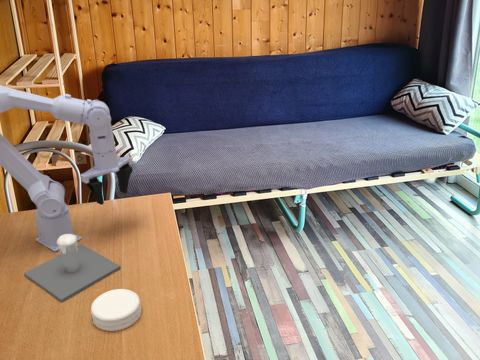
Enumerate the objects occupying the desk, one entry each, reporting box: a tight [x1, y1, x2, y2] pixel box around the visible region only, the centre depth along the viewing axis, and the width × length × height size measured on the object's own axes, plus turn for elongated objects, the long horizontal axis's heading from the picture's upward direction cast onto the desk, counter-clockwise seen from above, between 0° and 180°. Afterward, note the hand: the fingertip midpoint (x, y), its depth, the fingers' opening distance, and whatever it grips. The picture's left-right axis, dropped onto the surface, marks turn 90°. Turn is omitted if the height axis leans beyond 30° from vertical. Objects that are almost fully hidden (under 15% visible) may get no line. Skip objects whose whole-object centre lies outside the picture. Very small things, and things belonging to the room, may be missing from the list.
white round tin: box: [90, 288, 142, 332], centre depth 106 cm, size 10×10×4 cm
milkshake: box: [57, 232, 80, 273], centre depth 118 cm, size 4×5×10 cm
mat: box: [23, 243, 122, 303], centre depth 121 cm, size 16×16×1 cm
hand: (112, 197), depth 133 cm, fingers open, 7 cm apart
